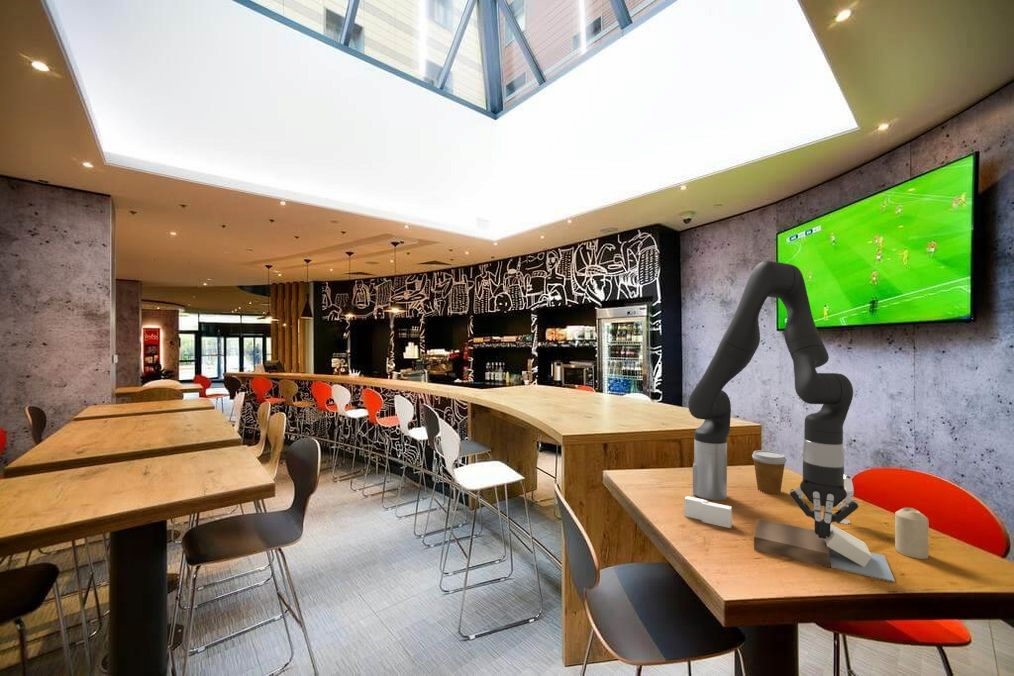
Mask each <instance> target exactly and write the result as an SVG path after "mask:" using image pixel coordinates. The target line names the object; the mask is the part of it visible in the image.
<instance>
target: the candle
mask: <svg viewBox="0 0 1014 676" xmlns="http://www.w3.org/2000/svg"><path fill="white" fill-rule="evenodd" d="M894 514H895V515H894V516H895V517H894V518H895V519H894V524H895V528H894V530H895V531H894V539H895V541H894V543H895V544H894V545H895V546H894V547H895V551H896V552H897V553H899V554H901V555H903V556H906V557H909V558H913V559H917V560H918V559H919V560H926V559H927V560H928V558H929V554H930V553H929V547H930V546H929V536H930V535H929V528H930V527H929V524H930V523H929V518H928V517H927V516H925V514H924V513H921V512H920V511H919V510H917V509H916V508H913V507H903V508H901V509H898V510H897V511H895V513H894Z"/></svg>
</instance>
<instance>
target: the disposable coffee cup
mask: <svg viewBox="0 0 1014 676" xmlns="http://www.w3.org/2000/svg"><path fill="white" fill-rule="evenodd" d="M751 457H752V460H753V464H754V471H755V478H756V479H755V481H756V487H757V488H756V489H757V490H758V491H759V490H760V491H759V492H761V491H762V492H761V493H763V492H764V493H763V494H767V493H768V495H780V494H781V493H782V492H781V491H782V486H783V478H784V471H785V464H786V463H787V458H786V456H785V454H783V453H781V452H777V451H771V450H764V449H763V450H754V451H753V452H752V455H751Z"/></svg>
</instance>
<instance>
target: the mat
mask: <svg viewBox="0 0 1014 676" xmlns="http://www.w3.org/2000/svg"><path fill="white" fill-rule="evenodd" d="M828 548H829V554H830V567H831V568H833V569H837V570H840V571H845V572H849V573H853V574H856V575H862V576H865V577H869V576H870V577H869V578H873V577H875V578H874V579H877V578H878V580H881V579H883V580H882V581H885V580H887V581H886V582H890V581H893V582H892V583H894V582H895V583H896V580H895V578H894V576H893V574H892V571H891V568H890V566H889V563H888V561H887V559H886V557H885V556H886V555H883V554H879V553H875V552H870V553H871V555H872V557H871V559H870V560H869V561H868V563H867V564H866V566H865V567H863V566H861V565H859V564H857V563H856V562H854V561H852V560H850V559H849V558H847V557H845V556H843V555H842V554H840V553H838V552H837V551H835V550H833V549H831V548H830V547H828Z"/></svg>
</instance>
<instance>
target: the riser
mask: <svg viewBox="0 0 1014 676" xmlns="http://www.w3.org/2000/svg"><path fill="white" fill-rule="evenodd" d="M754 530H755V531H754V534H753V550H755V551H759V552H762V553H767V554H770V555H775V556H779V557H784V558H788V559H792V560H796V561H800V562H803V563H808V564H812V565H816V566H819V567H820V566H821V567H824V568H829V569H830V567H831V564H830V554H829V548H828V546H827V544H826V541H825V539H823V538H819V537H818V535H817V534H816V533H815V529H809V528H805V527H800V526H795V525H791V524H786V523H782V522H777V521H771V520H768V519H763V518H757V521H756V526H755V529H754Z"/></svg>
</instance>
